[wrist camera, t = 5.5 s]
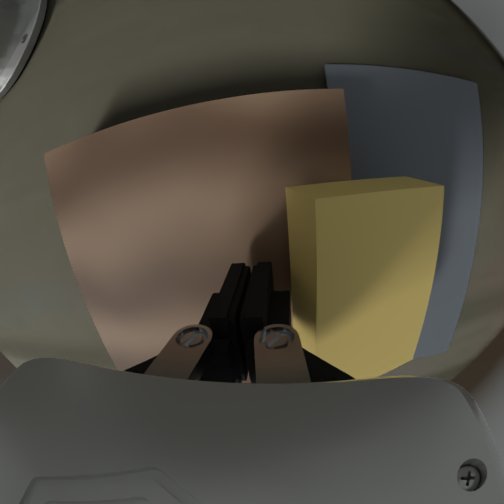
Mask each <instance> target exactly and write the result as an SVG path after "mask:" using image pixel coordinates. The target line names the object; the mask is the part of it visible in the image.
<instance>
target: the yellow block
mask: <svg viewBox="0 0 504 504" xmlns="http://www.w3.org/2000/svg"><path fill="white" fill-rule="evenodd" d="M285 192H286V205H287V220H288V235H289V252H290V270H291V291H292V317H293V328H294V329H295V330H297V332H298V334H299V337H300V341H301V345H302V348H304V349H306V350H307V351H309V352H311V353H312V354H314V355H316V356H317V357H319V358H321V359H322V360H324V361H326V362H328V363H329V364H331V365H333V366H334V367H336V368H338V369H340V370H341V371H343V372H345V373H347V374H349V375H350V376H352V377H353V378H355V379H367V378H376V377H378V376H380V375H382V374H384V373H386V372H388V371H390V370H392V369H394V368H396V367H398V366H400V365H402V364H404V363H406V362H408V361H410V360H412V359H413V356H414V353H415V350H416V347H417V343H418V340H419V337H420V333H421V330H422V326H423V322H424V319H425V315H426V311H427V307H428V302H429V298H430V294H431V289H432V284H433V279H434V274H435V268H436V262H437V256H438V249H439V242H440V234H441V225H442V215H443V201H444V186H443V185H439V184H436V183H432V182H428V181H423V180H419V179H415V178H411V177H406V176H403V177H387V178H373V179H360V180H349V181H338V182H328V183H319V184H310V185H301V186H293V187H285Z"/></svg>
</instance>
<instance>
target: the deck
mask: <svg viewBox="0 0 504 504" xmlns="http://www.w3.org/2000/svg"><path fill="white" fill-rule="evenodd" d="M44 158H45V165H46V170H47V176H48V181H49V186H50V191H51V196H52V200H53V204H54V209H55V213H56V217H57V220H58V224H59V228H60V231H61V235H62V238H63V242H64V245H65V248H66V251H67V254H68V257H69V260H70V263H71V266H72V269H73V272H74V275H75V277H76V280H77V283H78V285H79V288H80V291H81V293H82V296H83V298H84V301H85V303H86V305H87V308H88V310H89V313H90V315H91V317H92V319H93V322H94V324H95V326H96V328H97V330H98V332H99V335H100V337H101V339H102V341H103V343H104V345H105V347H106V349H107V351H108V353H109V355H110V357H111V358H112V360H113V362H114V364H115V366H116V368H117V370H120V371H124V370H126V369H128V368H131V367H133V366H135V365H137V364H140V363H142V362H144V361H146V360H148V359H151V358H153V357H155V356H157V355H158V354H159V353H160V352H161V350H162V349H163V348H164V346H165V345H166V344H167V343H168V341H169V340H170V339H171V337H172V336H173V335H174V334H175V333H176V332H177V331H178V330H179V329H181V328H183V327H185V326H188V325H194V324H199V322H200V320H201V318H202V315H203V313H204V311H205V309H206V307H207V304H208V302H209V300H210V298H211V296H212V294H213V293H219V292H220V290H221V287H222V285H223V283H224V280H225V278H226V275H227V273H228V271H229V268H230V266H231V264H232V263H245V265H246V266H250V268H251V272H252V269H253V266H257V265H258V262H270V261H271V263H272V272H273V284H274V291H286V290H290V300H291V327H293V317H292V291H291V270H290V252H289V235H288V220H287V205H286V192H285V187H293V186H301V185H310V184H319V183H328V182H338V181H349V180H351V162H350V147H349V135H348V124H347V115H346V106H345V98H344V90H343V89H306V90H290V91H278V92H268V93H259V94H250V95H243V96H236V97H230V98H223V99H218V100H212V101H207V102H202V103H197V104H192V105H187V106H183V107H178V108H174V109H170V110H166V111H162V112H158V113H155V114H151V115H147V116H144V117H140V118H137V119H134V120H130V121H127V122H124V123H121V124H118V125H115V126H112V127H109V128H106V129H103V130H101V131H98V132H95V133H92V134H90V135H87V136H85V137H82V138H80V139H77V140H75V141H72V142H70V143H67V144H65V145H63V146H60V147H58V148H56V149H54V150H51V151H49V152H47V153H45V154H44ZM242 383H251V381H250V378H249V372H248V377H247V380H246V381H242Z"/></svg>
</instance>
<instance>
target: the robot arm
mask: <svg viewBox="0 0 504 504" xmlns="http://www.w3.org/2000/svg"><path fill="white" fill-rule="evenodd" d="M46 8H47V0H0V99H1V98H2V97H3V96H4V95H5V94H6V93H7V92H8V90H9V89H10V88H11V86H12V85H13V84H14V82H15V81H16V79H17V78H18V76H19V74H20V73H21V71H22V69H23V68H24V66H25V64H26V62H27V60H28V58H29V56H30V54H31V52H32V49H33V47H34V45H35V43H36V40H37V38H38V35H39V33H40V30H41V27H42V24H43V21H44V17H45V13H46ZM248 372H249V378H250V381H251V383H242V381H246V380H247V377H248ZM0 504H504V469H503V465H502V462H501V459H500V455H499V452H498V449H497V446H496V443H495V441H494V439H493V436H492V434H491V431H490V429H489V426H488V424H487V422H486V420H485V418H484V416H483V414H482V412H481V411H480V409H479V407H478V405H477V404H476V402H475V401H474V399H473V398H472V397H471V395H470V394H469V393H468V392H467V391H466V390H465V389H464V388H462V387H461V386H459V385H457V384H456V383H454V382H451V381H448V380H444V379H440V378H434V377H426V376H387V377H378V378H367V379H355V378H353V377H352V376H350V375H349V374H347V373H345V372H343V371H341V370H340V369H338V368H336V367H334V366H333V365H331V364H329V363H328V362H326V361H324V360H322V359H321V358H319V357H317V356H316V355H314V354H312V353H311V352H309V351H307V350H306V349H304V348H302V345H301V341H300V337H299V334H298V332H297V330H295V329H294V328H293V327H291V300H290V290H286V291H274V284H273V272H272V263H271V261H270V262H258V265H257V266H253V269H252V272H251V268H250V266H246V265H245V263H232V264H231V266H230V268H229V271H228V273H227V275H226V278H225V280H224V283H223V285H222V287H221V290H220V292H219V293H213V294H212V296H211V298H210V300H209V302H208V304H207V307H206V309H205V311H204V313H203V315H202V318H201V320H200V322H199V324H194V325H188V326H185V327H183V328H181V329H179V330H178V331H177V332H176V333H175V334H174V335H173V336H172V337H171V339H170V340H169V341H168V343H167V344H166V345H165V346H164V348H163V349H162V350H161V352H160V353H159V354H158V355H157V356H155V357H153V358H151V359H148V360H146V361H144V362H142V363H140V364H137V365H135V366H133V367H131V368H128V369H126V370H124V371H120V370H115V369H109V368H104V367H99V366H94V365H90V364H85V363H80V362H75V361H70V360H65V359H57V358H39V359H33V360H30V361H27V362H25V363H23V364H22V365H21V366H19V367H18V368H17V369H16V370H15V371H14V372H13V373H12V374H11V376H10V377H9V378H8V379H7V380H6V382H4V384H3V385H2V386H1V387H0Z"/></svg>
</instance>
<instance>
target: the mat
mask: <svg viewBox="0 0 504 504" xmlns="http://www.w3.org/2000/svg"><path fill="white" fill-rule="evenodd" d="M324 72H325V79H326V86H327V89H343V90H344V98H345V106H346V115H347V124H348V135H349V147H350V162H351V180H360V179H373V178H387V177H403V176H406V177H411V178H415V179H419V180H423V181H428V182H432V183H436V184H439V185H443V186H444V201H443V215H442V225H441V234H440V242H439V249H438V256H437V262H436V268H435V274H434V279H433V284H432V289H431V294H430V298H429V302H428V307H427V311H426V315H425V319H424V322H423V326H422V330H421V333H420V337H419V340H418V343H417V347H416V350H415V353H414V356H413V359H416V358H421V357H426V356H431V355H436V354H441V353H445V352H447V351H448V348H449V346H450V343H451V340H452V337H453V334H454V331H455V328H456V325H457V322H458V319H459V316H460V313H461V309H462V306H463V302H464V298H465V295H466V291H467V287H468V283H469V278H470V274H471V269H472V265H473V259H474V254H475V248H476V242H477V236H478V229H479V221H480V212H481V201H482V185H483V135H482V119H481V109H480V100H479V92H478V86H477V83H475V82H472V81H468V80H464V79H460V78H455V77H451V76H446V75H441V74H436V73H430V72H424V71H418V70H411V69H403V68H394V67H384V66H371V65H348V64H324Z"/></svg>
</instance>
